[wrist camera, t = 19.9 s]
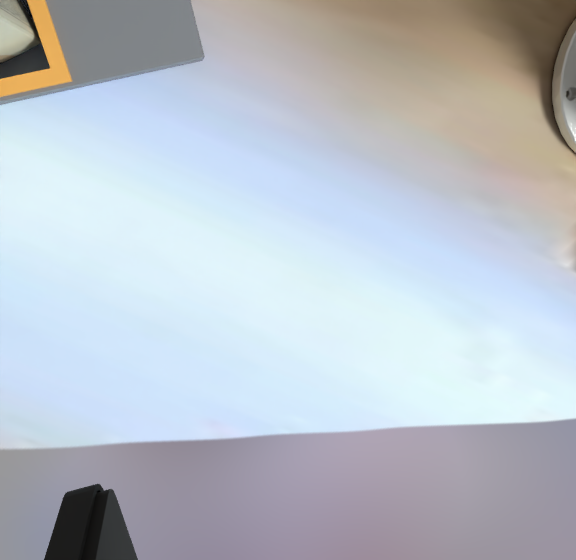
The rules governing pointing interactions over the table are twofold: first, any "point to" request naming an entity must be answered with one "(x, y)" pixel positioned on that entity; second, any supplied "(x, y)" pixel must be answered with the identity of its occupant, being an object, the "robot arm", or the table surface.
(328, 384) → the table surface
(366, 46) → the table surface
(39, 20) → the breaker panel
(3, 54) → the box
